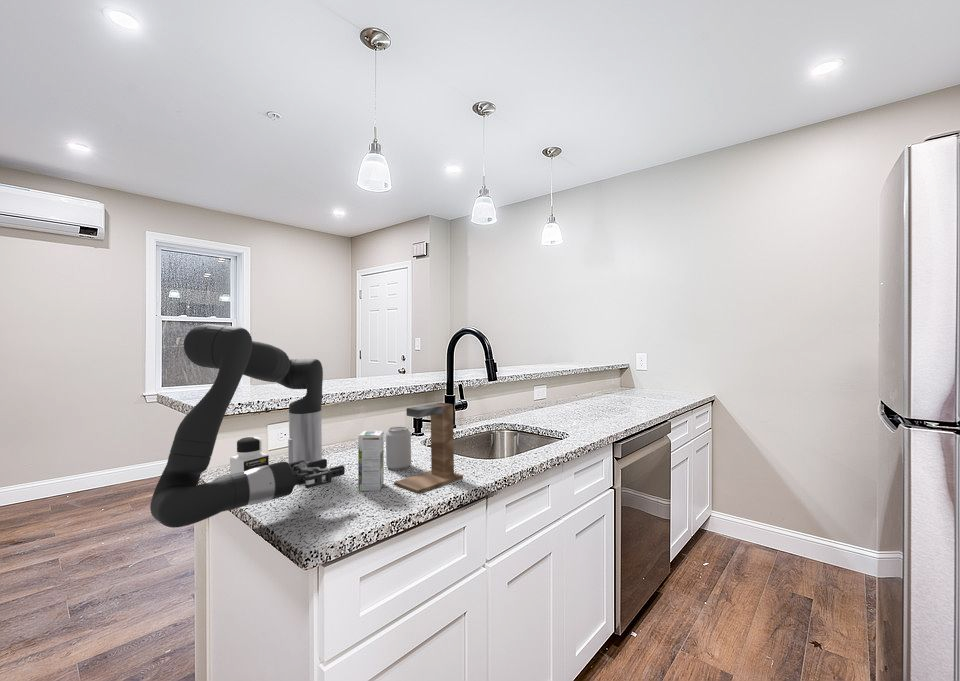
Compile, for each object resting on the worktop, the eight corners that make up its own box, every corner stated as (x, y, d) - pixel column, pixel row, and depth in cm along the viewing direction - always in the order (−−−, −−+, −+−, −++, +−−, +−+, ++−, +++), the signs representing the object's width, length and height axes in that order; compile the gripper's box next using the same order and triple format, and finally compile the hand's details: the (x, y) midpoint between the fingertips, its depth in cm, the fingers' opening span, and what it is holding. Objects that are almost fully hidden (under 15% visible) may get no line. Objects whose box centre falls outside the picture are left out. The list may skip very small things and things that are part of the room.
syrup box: (362, 484, 116) (361, 430, 116) (384, 483, 117) (383, 430, 117) (358, 491, 111) (357, 435, 111) (381, 490, 111) (380, 434, 111)
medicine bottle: (244, 487, 115) (243, 442, 115) (229, 482, 119) (229, 439, 119) (269, 479, 122) (268, 436, 121) (254, 475, 125) (254, 434, 125)
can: (405, 471, 127) (405, 430, 127) (382, 470, 129) (381, 430, 129) (414, 464, 135) (414, 425, 135) (392, 462, 136) (391, 425, 136)
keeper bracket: (418, 493, 109) (417, 412, 109) (394, 484, 116) (393, 408, 116) (462, 477, 121) (461, 404, 121) (438, 470, 127) (437, 401, 127)
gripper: (279, 472, 89) (350, 456, 101) (253, 459, 99) (320, 446, 111) (280, 508, 89) (350, 487, 101) (254, 492, 99) (321, 475, 111)
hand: (334, 466), depth 106 cm, fingers open, 8 cm apart
